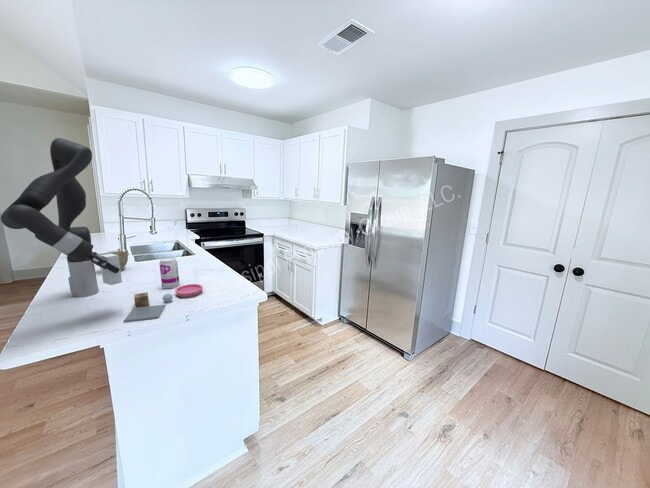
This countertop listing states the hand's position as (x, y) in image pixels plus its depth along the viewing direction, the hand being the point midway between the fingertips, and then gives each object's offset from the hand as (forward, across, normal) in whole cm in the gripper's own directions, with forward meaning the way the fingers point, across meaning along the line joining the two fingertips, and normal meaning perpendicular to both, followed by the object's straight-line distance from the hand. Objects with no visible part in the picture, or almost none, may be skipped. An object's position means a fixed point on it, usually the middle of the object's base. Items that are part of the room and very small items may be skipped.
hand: (115, 269), depth 110 cm
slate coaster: (+17, -11, +9) cm, 22 cm away
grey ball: (+25, -4, +1) cm, 25 cm away
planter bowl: (+20, +70, +6) cm, 73 cm away
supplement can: (+31, +16, -5) cm, 35 cm away
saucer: (+33, -1, -6) cm, 33 cm away
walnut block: (+18, 0, +8) cm, 20 cm away
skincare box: (+3, 0, +5) cm, 6 cm away
